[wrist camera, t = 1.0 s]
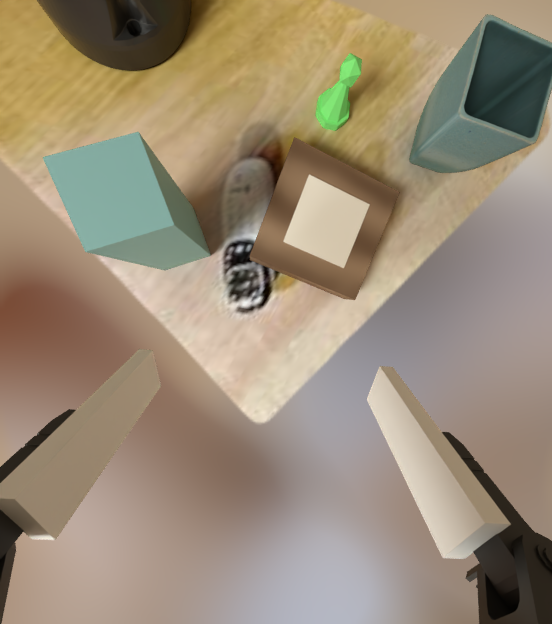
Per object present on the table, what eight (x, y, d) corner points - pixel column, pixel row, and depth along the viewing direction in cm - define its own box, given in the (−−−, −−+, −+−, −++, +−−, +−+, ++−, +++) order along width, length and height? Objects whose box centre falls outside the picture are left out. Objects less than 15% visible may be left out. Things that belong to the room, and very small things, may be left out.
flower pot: (408, 103, 26) (487, 8, 17) (465, 125, 27) (566, 46, 19) (391, 172, 27) (458, 114, 18) (447, 191, 28) (536, 144, 19)
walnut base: (289, 155, 25) (294, 135, 22) (383, 202, 27) (401, 191, 24) (250, 260, 26) (249, 255, 23) (344, 298, 28) (356, 299, 25)
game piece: (325, 86, 25) (348, 22, 19) (353, 107, 26) (383, 52, 20) (309, 117, 25) (325, 64, 19) (337, 138, 26) (362, 92, 20)
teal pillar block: (145, 222, 24) (42, 157, 12) (193, 208, 25) (138, 131, 13) (164, 270, 25) (85, 251, 13) (210, 255, 26) (174, 225, 14)
